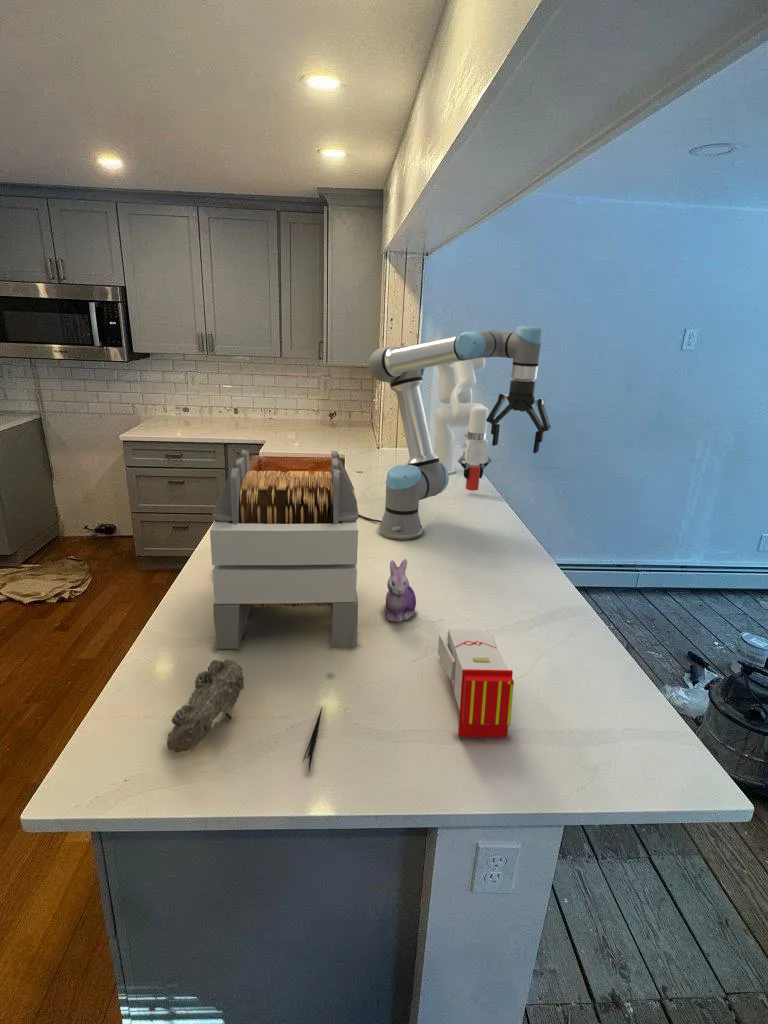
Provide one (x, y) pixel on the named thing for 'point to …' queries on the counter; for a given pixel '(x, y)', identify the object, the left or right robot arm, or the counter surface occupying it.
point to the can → (473, 477)
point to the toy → (478, 682)
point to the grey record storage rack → (285, 547)
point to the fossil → (206, 705)
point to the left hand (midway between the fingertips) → (514, 448)
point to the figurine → (399, 594)
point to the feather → (313, 740)
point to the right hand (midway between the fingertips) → (472, 477)
